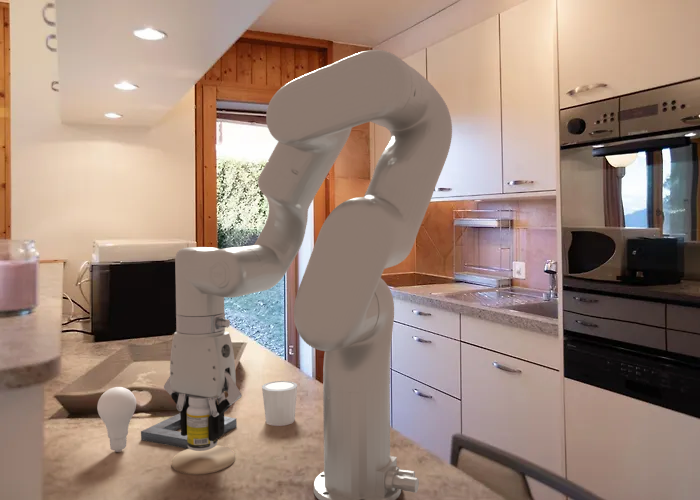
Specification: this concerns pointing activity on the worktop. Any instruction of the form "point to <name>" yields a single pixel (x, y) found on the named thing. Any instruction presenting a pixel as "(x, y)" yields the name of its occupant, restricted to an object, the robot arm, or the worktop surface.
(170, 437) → the collar
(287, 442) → the worktop surface
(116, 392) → the lightbulb
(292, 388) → the white cup
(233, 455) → the coaster
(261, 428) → the worktop surface
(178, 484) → the worktop surface
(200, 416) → the supplement bottle
